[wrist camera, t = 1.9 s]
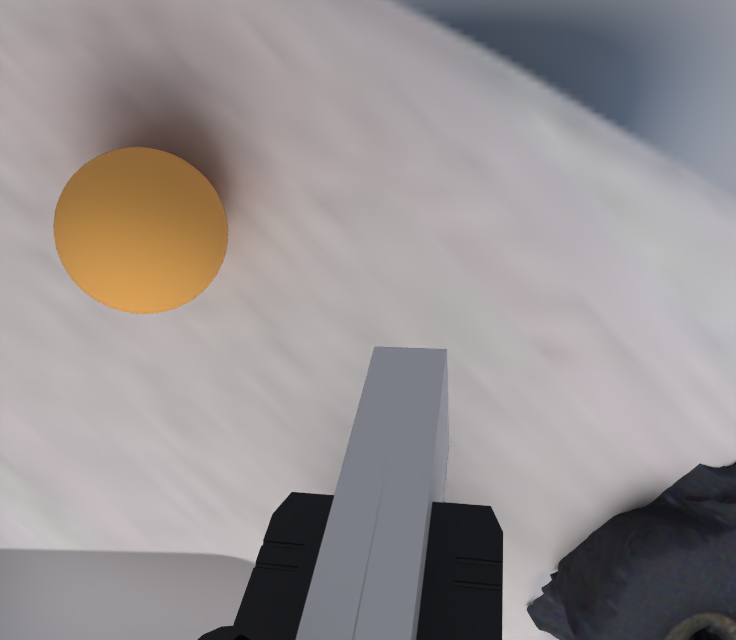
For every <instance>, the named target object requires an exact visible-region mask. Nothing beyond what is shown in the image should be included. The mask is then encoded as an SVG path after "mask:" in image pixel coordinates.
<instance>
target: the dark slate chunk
mask: <svg viewBox="0 0 736 640" xmlns="http://www.w3.org/2000/svg"><path fill="white" fill-rule="evenodd" d="M550 576H551V578H552V580H551V581H550V582H549V583H548V584H547V585H545V586H544V587H542V591H543V593H544V594H543V595H542V596H540V597H538V598H537V599H535V600H534V601H533V605H531V606H528V607H527V611H528V613H529V615H530V617H531V618H532V620H533V622H534V623H535V625H536V626H537V628H538V629H539V630H542V631H546V632H548V633H550V634H552V635H553V636H554V637H556V638H557V639H559V640H736V462H735V464H734V465H733V466H731V467H728V468H726V467H724V466H723V467H720V468H714V467H709V466H706V465H702V464H699V465H698V466H696V467H695V468H694V469H693V470H692V471H690V472H689V473H688V474H686V475H685V476H683V477H682V478H681V479H679V480H678V481H677V482H675V483H674V484H673V485H672V486H671V487H669V488H668V489H666V490H665V491H664V492H663V493H662V494H661V495H660V496H659V497H658V498H657V499H656V500H654V501H653V502H651V503H650V504H649V505H647V506H646V507H642V508H638V509H634V510H632V511H629V512H626V513H621V514H618V515H616V516H614V517H612V518H611V519H610V520H609V521H607V522H606V523H605V524H604V525H603V526H601V527H600V528H599V529H597V530H596V531H594V532H593V533H592V534H591V535H590V536H589V537H588V538H587V539H586V540H585V541H584V542H582V543H581V544H580V545H579V546H578V547H577V548H576V549H575V550H573V551H572V552H570V553H569V554H568V555H567V556H566V557H565V558H563V559H562V560H561V561H560V563H559V566H558V571H557V572H555V573H553V574H551V575H550Z"/></svg>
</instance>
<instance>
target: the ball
mask: <svg viewBox="0 0 736 640" xmlns="http://www.w3.org/2000/svg"><path fill="white" fill-rule="evenodd" d="M54 238H55V243H56V248H57V251H58V255H59V257H60V259H61V262H62V264H63V266H64V267H65V269H66V271H67V272H68V274H69V275H70V277H71V278H72V279H73V281H74V282H75V283H76V284H77V285H78V286H79V287H80V288H81V289H82V290H83V291H84V292H85V293H87V294H88V295H89V296H91V297H92V298H93V299H95V300H97V301H98V302H100V303H102V304H104V305H106V306H109V307H111V308H114V309H117V310H121V311H124V312H129V313H138V314H150V313H159V312H164V311H168V310H171V309H175V308H177V307H179V306H181V305H183V304H186V303H188V302H190V301H191V300H192V299H194V298H195V297H197V296H198V295H199V294H200V293H202V292H203V291H204V290H205V289H206V288H207V287H208V285H209V284H210V283H211V282H212V280H213V279H214V278H215V276H216V275H217V273H218V271H219V269H220V267H221V265H222V263H223V260H224V257H225V253H226V249H227V242H228V225H227V219H226V215H225V211H224V208H223V205H222V202H221V200H220V198H219V196H218V194H217V192H216V190H215V189H214V187H213V186H212V185H211V183H210V182H209V181H208V179H207V178H206V177H205V176H204V175H203V174H202V173H201V172H200V171H199V170H197V169H196V168H195V167H194V166H193V165H191V164H190V163H188V162H187V161H185V160H183V159H182V158H180V157H178V156H176V155H173V154H171V153H168V152H165V151H162V150H158V149H153V148H147V147H130V148H121V149H117V150H113V151H110V152H106V153H104V154H102V155H99V156H97V157H96V158H94V159H92V160H91V161H89V162H88V163H86V164H85V165H83V166H82V167H81V168H80V169H79V170H78V171H77V172H76V173H75V174H74V175H73V176H72V177H71V179H70V180H69V181H68V183H67V184H66V186H65V187H64V189H63V191H62V193H61V195H60V197H59V200H58V203H57V206H56V210H55V217H54Z"/></svg>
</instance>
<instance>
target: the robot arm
mask: <svg viewBox="0 0 736 640" xmlns="http://www.w3.org/2000/svg"><path fill="white" fill-rule="evenodd" d="M448 450H449V424H448V376H447V349H427V348H400V347H374V351H373V354H372V358H371V362H370V365H369V369H368V373H367V377H366V380H365V384H364V388H363V391H362V395H361V399H360V402H359V406H358V410H357V414H356V417H355V421H354V425H353V428H352V432H351V436H350V440H349V443H348V447H347V451H346V454H345V458H344V462H343V466H342V469H341V473H340V477H339V480H338V484H337V488H336V491H335V495H323V494H310V493H298V492H291V494H290V495H289V496H288V497H287V498H286V499H285V501H284V502H283V503H282V504H281V505H280V506H279V507H278V509H277V510H276V511H275V512H274V513H273V515H272V517H271V520H270V523H269V526H268V529H267V532H266V534H265V537H264V540H263V546H261V548H260V551H259V554H258V557H257V560H256V566H255V568H253V571H252V574H251V577H250V580H249V582H248V585H247V588H246V591H245V594H244V596H243V599H242V602H241V605H240V608H239V611H238V613H237V616H236V619H235V622H234V625H233V626H226V627H225V626H224V627H220V628H217V629H216V630H213V631H211V632H208V633H206V634H204V635H202V636H201V637H200V638H199V639H198V640H502V586H503V531H502V529H501V527H500V525H499V523H498V521H497V518H496V516H495V514H494V512H493V510H492V508H491V506H482V505H469V504H457V503H444V502H443V499H444V490H445V480H446V470H447V460H448Z"/></svg>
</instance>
